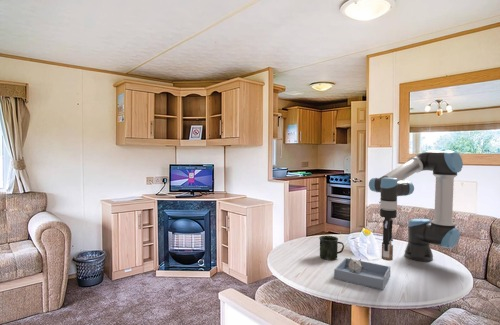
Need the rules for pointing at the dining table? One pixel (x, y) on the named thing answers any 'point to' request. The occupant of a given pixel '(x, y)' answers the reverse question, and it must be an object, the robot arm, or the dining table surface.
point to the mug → (329, 247)
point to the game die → (355, 266)
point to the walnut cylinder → (389, 253)
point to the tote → (364, 274)
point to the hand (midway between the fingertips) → (387, 255)
